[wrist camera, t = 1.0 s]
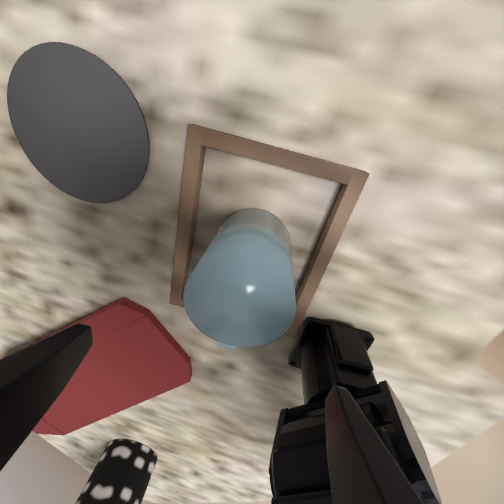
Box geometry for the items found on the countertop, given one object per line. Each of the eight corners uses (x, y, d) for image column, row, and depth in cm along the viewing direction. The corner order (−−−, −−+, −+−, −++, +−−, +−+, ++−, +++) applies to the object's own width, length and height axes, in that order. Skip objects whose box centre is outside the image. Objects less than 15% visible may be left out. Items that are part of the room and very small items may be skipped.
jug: (271, 300, 22) (267, 380, 15) (208, 284, 22) (174, 356, 15) (300, 219, 18) (313, 275, 11) (224, 199, 18) (190, 242, 11)
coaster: (147, 215, 19) (145, 216, 19) (27, 183, 19) (23, 184, 19) (152, 67, 15) (150, 66, 15) (-5, 24, 15) (-10, 21, 14)
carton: (149, 273, 27) (-9, 356, 31) (130, 298, 22) (-52, 391, 26) (206, 344, 31) (61, 409, 35) (200, 377, 27) (35, 447, 31)
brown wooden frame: (294, 326, 23) (295, 336, 22) (174, 295, 23) (169, 303, 22) (363, 171, 16) (369, 173, 15) (193, 124, 16) (187, 123, 15)
